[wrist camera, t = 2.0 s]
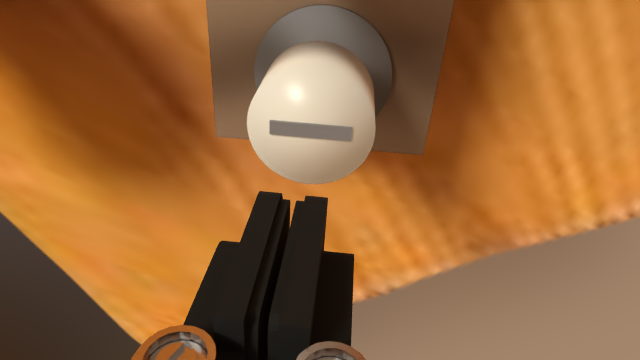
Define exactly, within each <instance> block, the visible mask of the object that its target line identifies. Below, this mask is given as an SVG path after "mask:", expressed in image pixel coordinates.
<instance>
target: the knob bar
mask: <svg viewBox="0 0 640 360" xmlns="http://www.w3.org/2000/svg"><path fill="white" fill-rule="evenodd" d="M206 4H207V18H208V32H209V45H210V59H211V72H212V86H213V100H214V113H215V127H216V137H226V138H237V139H248V140H250V139H249V135H248V130H247V115H248V110H249V107H250V104H251V101H252V99H253V97H254V95H255V93H256V92H257V90H258V88H259V86H260V84H261V82H262V80H263V79H264V77H265V75H266V73H267V71H268V69H269V67H270V66H271V64H272V63H273V61H274V60H275V59H276V58H277V57H278V56H279V55H280V54H281V53H282V52H284V51H285V50H286V49H288V48H290V47H291V46H294V45H296V44H299V43H303V42H307V41H326V42H331V43H335V44H338V45H340V46H342V47H344V48H346V49H348V50H349V51H351V52H352V53H353V54H355V55H356V56H357V57H358V58H359V59H360V60H361V61H362V63H363V64H364V65H365V67H366V68H367V70H368V72H369V74H370V76H371V79H372V83H373V87H374V103H375V126H376V129H375V139H374V143H373V146H372V149H371V151H382V152H393V153H404V154H415V155H423V152H424V147H425V142H426V138H427V133H428V128H429V123H430V118H431V113H432V108H433V103H434V98H435V93H436V88H437V84H438V79H439V74H440V69H441V64H442V59H443V54H444V49H445V44H446V39H447V34H448V30H449V25H450V20H451V15H452V10H453V5H454V0H206Z"/></svg>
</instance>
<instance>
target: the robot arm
mask: <svg viewBox="0 0 640 360" xmlns="http://www.w3.org/2000/svg"><path fill="white" fill-rule="evenodd" d="M327 203H328V198H325V197H315V196H306V197H305V201H296V204H295V209H294V213H293V217H292V221H291V225H290V200H285V199H283V197H282V193H273V192H263V191H260V192H259V193H258V196H257V198H256V201H255V204H254V206H253V209H252V212H251V214H250V217H249V220H248V222H247V225H246V228H245V230H244V233H243V236H242V238H241V241H240V242H230V241H221V242H220V243H219V244H218V246H217V248H216V251H215V253H214V255H213V258H212V260H211V262H210V265H209V267H208V269H207V271H206V274H205V276H204V278H203V281H202V283H201V285H200V288H199V290H198V292H197V294H196V297H195V299H194V301H193V304H192V306H191V308H190V311H189V313H188V315H187V317H186V320H185V322H184V324H183V325H179V326H172V327H168V328H166V329H163V330H160V331H158V332H157V333H155V334H154V335H152V336H151V337H149V338H148V339H147V340H146V341H145V342H144V343H143V344H142V345H141V346H140V347H139V349H138V350H137V352H136V353H135V354H134V356H133V357H132V359H131V360H366V359H365V358H364V357H363V355H362V354H361V353H359V352H358V351H357V350H355V349H354V348H352V347H351V328H352V300H353V272H354V254H347V253H338V252H328V251H324V240H325V228H326V216H327ZM289 229H290V230H289Z"/></svg>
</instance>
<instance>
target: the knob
mask: <svg viewBox="0 0 640 360" xmlns="http://www.w3.org/2000/svg"><path fill="white" fill-rule="evenodd" d="M375 129H376V126H375V103H374V87H373V83H372V79H371V76H370V74H369V72H368V70H367V68H366V67H365V65H364V64H363V63H362V61H361V60H360V59H359V58H358V57H357V56H356V55H355V54H353V53H352V52H351V51H349V50H348V49H346V48H344V47H342V46H340V45H338V44H335V43H331V42H326V41H307V42H303V43H299V44H296V45H294V46H291V47H290V48H288V49H286V50H285V51H284V52H282V53H281V54H280V55H279V56H278V57H277V58H276V59H275V60H274V61H273V63H272V64H271V66H270V67H269V69H268V71H267V73H266V75H265V77H264V79H263V80H262V82H261V84H260V86H259V88H258V90H257V92H256V93H255V95H254V97H253V99H252V101H251V104H250V107H249V110H248V115H247V130H248V135H249V139H250V142H251V144H252V147H253V149H254V150H255V152H256V154H257V155H258V157H259V158H260V159H261V160H262V161H263V162H264V164H265V165H266V166H268V167H269V168H270V169H271V170H273V171H274V172H276V173H277V174H279V175H281V176H282V177H284V178H287V179H289V180H292V181H295V182H299V183H305V184H324V183H329V182H333V181H337V180H339V179H342V178H344V177H346V176H348V175H349V174H351V173H352V172H354V171H355V170H356V169H357V168H358V167H359V166H360V165H361V164H362V163H363V162H364V161H365V159H366V158H367V157H368V155H369V153H370V151H371V149H372V146H373V143H374V139H375Z"/></svg>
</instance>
